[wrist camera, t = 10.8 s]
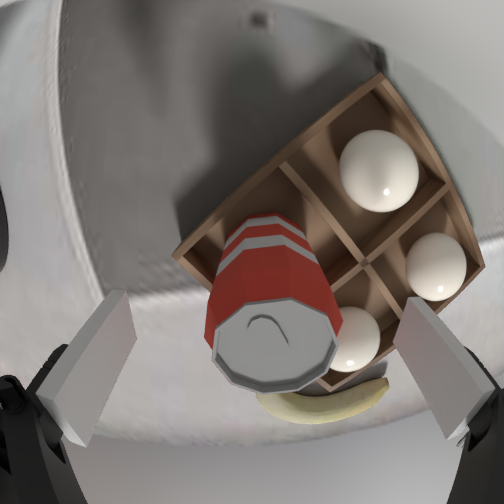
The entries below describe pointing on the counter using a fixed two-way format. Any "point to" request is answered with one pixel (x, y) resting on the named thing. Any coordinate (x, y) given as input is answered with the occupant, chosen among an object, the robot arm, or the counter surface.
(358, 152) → the egg
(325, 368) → the beverage can
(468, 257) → the crate
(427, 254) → the egg
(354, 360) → the egg
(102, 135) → the counter surface
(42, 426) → the robot arm
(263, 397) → the fruit
